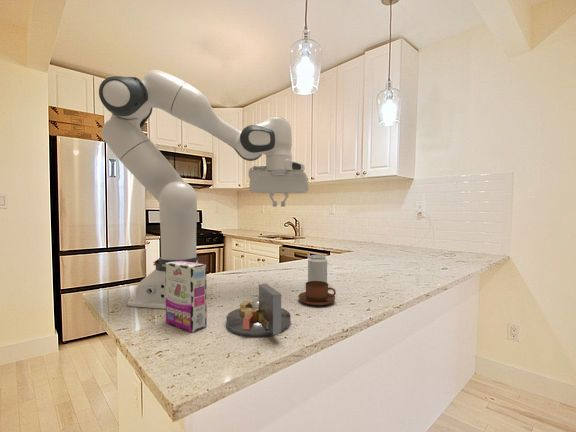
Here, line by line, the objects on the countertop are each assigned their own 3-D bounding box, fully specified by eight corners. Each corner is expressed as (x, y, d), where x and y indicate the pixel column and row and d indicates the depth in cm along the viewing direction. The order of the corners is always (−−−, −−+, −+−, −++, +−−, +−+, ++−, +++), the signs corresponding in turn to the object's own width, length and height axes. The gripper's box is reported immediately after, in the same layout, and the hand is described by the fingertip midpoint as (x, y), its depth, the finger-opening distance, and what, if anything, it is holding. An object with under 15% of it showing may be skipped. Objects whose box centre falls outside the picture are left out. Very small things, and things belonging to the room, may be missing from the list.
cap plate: (219, 338, 70) (219, 313, 70) (232, 311, 88) (232, 291, 87) (291, 337, 71) (291, 312, 70) (289, 311, 88) (289, 291, 88)
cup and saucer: (332, 296, 103) (332, 279, 103) (338, 308, 91) (338, 288, 91) (297, 296, 103) (297, 279, 103) (299, 308, 91) (299, 288, 91)
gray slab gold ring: (236, 311, 82) (236, 278, 81) (269, 306, 86) (269, 275, 85) (256, 337, 65) (256, 297, 65) (296, 330, 69) (296, 292, 69)
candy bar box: (208, 326, 77) (207, 264, 76) (192, 333, 73) (191, 267, 72) (180, 317, 83) (180, 259, 83) (164, 323, 79) (164, 262, 78)
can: (326, 289, 111) (326, 257, 111) (306, 288, 113) (306, 257, 112) (327, 284, 119) (328, 254, 118) (309, 283, 120) (309, 253, 120)
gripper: (247, 164, 98) (247, 206, 99) (309, 165, 99) (308, 206, 99) (249, 167, 105) (249, 206, 105) (307, 167, 105) (307, 206, 106)
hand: (278, 206), depth 102 cm, fingers closed
